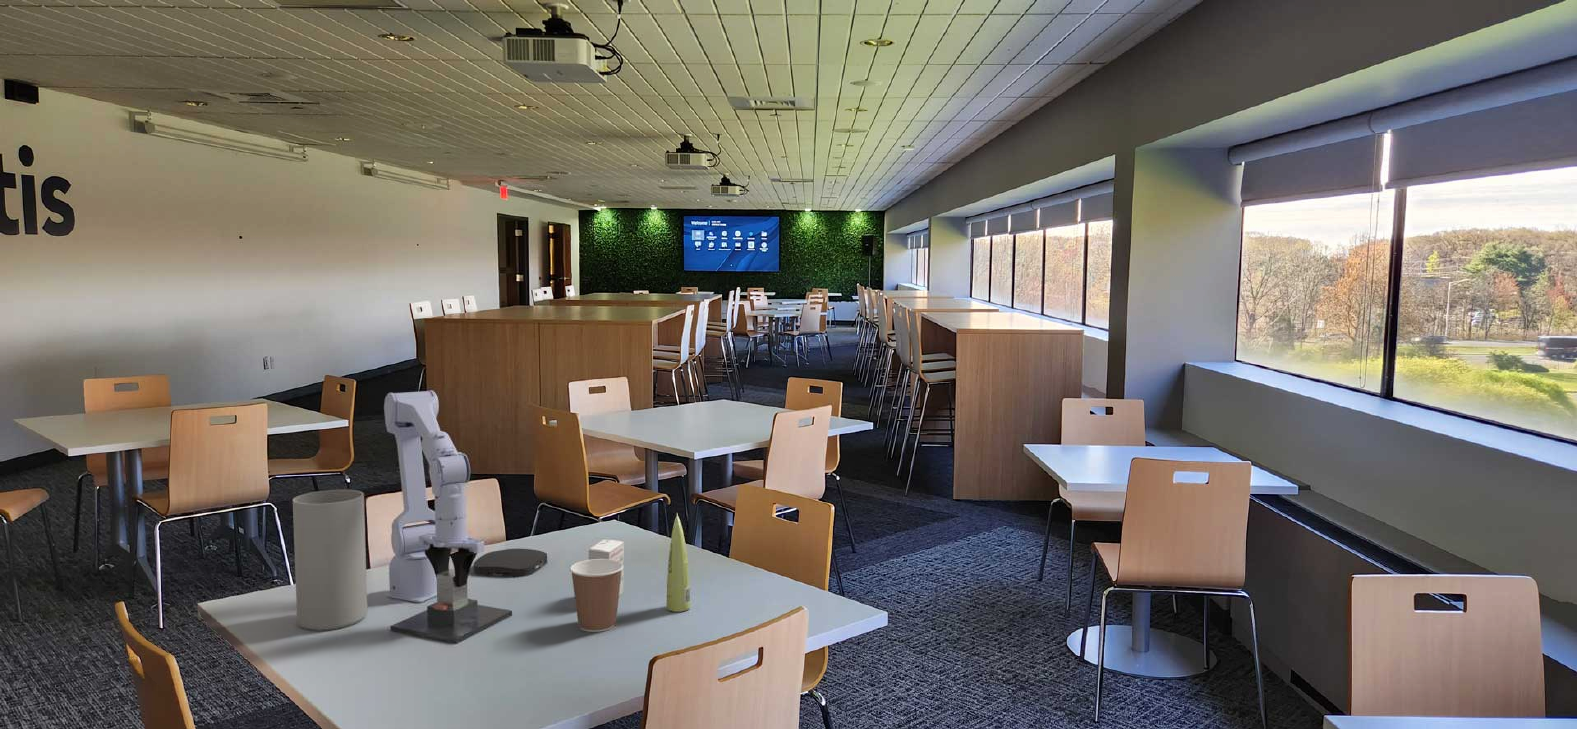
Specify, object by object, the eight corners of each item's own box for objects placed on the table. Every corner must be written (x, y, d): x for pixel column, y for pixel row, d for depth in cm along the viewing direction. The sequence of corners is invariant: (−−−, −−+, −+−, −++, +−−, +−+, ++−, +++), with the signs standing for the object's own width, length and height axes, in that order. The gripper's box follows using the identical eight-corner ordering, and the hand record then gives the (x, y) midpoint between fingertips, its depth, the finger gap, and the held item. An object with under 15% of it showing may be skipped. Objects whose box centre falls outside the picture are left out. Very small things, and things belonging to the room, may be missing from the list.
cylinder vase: (282, 626, 176) (277, 500, 174) (334, 605, 188) (330, 487, 186) (331, 635, 172) (326, 506, 170) (381, 613, 184) (378, 493, 181)
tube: (659, 608, 188) (659, 516, 187) (677, 602, 192) (677, 511, 191) (677, 614, 185) (677, 521, 183) (695, 608, 189) (695, 516, 187)
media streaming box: (496, 557, 223) (496, 546, 223) (552, 561, 221) (552, 549, 221) (467, 576, 209) (467, 563, 209) (527, 579, 207) (527, 567, 207)
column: (436, 609, 177) (435, 574, 177) (451, 602, 181) (451, 568, 181) (453, 612, 176) (452, 577, 175) (468, 605, 180) (467, 571, 179)
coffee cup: (633, 620, 181) (632, 562, 180) (606, 638, 172) (606, 577, 171) (588, 613, 185) (588, 556, 184) (560, 631, 175) (559, 571, 174)
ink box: (609, 606, 189) (609, 551, 188) (586, 604, 190) (586, 549, 189) (624, 593, 198) (624, 540, 197) (603, 591, 199) (603, 538, 198)
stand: (390, 631, 174) (390, 608, 174) (449, 604, 189) (449, 583, 189) (456, 643, 169) (455, 619, 168) (512, 615, 183) (511, 593, 183)
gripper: (406, 517, 176) (408, 585, 177) (465, 525, 171) (467, 595, 172) (433, 509, 183) (434, 574, 184) (491, 516, 177) (492, 584, 178)
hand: (452, 584), depth 178 cm, fingers closed on column, 4 cm apart
